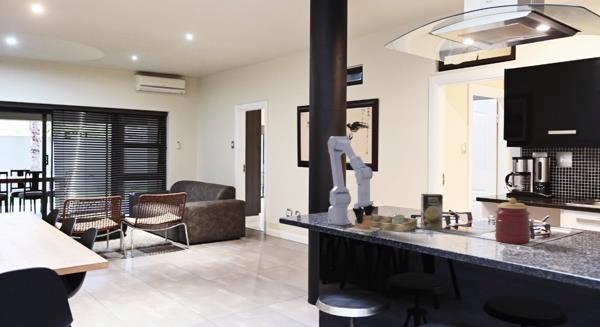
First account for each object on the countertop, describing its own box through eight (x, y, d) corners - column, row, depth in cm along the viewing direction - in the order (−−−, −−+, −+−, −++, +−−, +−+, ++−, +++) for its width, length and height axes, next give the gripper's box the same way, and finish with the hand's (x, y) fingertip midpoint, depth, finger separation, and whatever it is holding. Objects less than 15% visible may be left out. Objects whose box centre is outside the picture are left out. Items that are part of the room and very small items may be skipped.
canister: (515, 245, 179) (515, 200, 178) (488, 240, 191) (488, 197, 190) (537, 242, 185) (537, 198, 184) (509, 236, 197) (509, 195, 196)
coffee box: (422, 229, 216) (422, 195, 216) (420, 227, 223) (420, 193, 222) (442, 229, 215) (442, 195, 215) (440, 227, 222) (440, 193, 221)
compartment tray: (355, 226, 226) (354, 218, 226) (370, 222, 238) (370, 214, 238) (403, 231, 210) (403, 223, 210) (417, 227, 222) (417, 218, 222)
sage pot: (389, 228, 219) (389, 215, 219) (394, 226, 224) (394, 214, 224) (400, 229, 216) (400, 216, 215) (406, 228, 220) (406, 215, 220)
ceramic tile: (347, 229, 216) (347, 228, 216) (357, 227, 224) (357, 225, 224) (370, 232, 209) (370, 231, 209) (380, 229, 216) (380, 228, 216)
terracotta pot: (355, 228, 216) (355, 215, 216) (362, 226, 221) (362, 213, 221) (367, 229, 212) (367, 216, 212) (373, 228, 217) (373, 214, 217)
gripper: (363, 195, 208) (363, 225, 208) (378, 192, 219) (378, 221, 220) (350, 194, 212) (350, 223, 212) (365, 191, 223) (365, 219, 224)
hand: (363, 222), depth 216 cm, fingers open, 7 cm apart
